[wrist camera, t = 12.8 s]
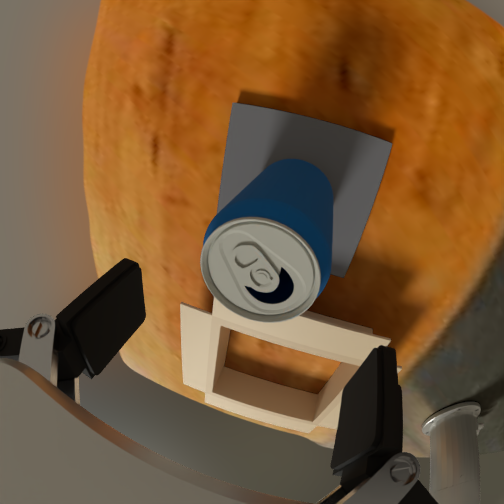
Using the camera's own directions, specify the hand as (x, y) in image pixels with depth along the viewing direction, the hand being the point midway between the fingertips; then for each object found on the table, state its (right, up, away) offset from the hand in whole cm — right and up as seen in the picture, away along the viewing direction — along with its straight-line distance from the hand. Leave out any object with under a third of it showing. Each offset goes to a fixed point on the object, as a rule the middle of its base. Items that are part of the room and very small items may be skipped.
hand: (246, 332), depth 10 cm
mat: (+4, +8, +13) cm, 16 cm away
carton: (+4, -10, +24) cm, 26 cm away
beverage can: (+4, +8, +13) cm, 15 cm away
